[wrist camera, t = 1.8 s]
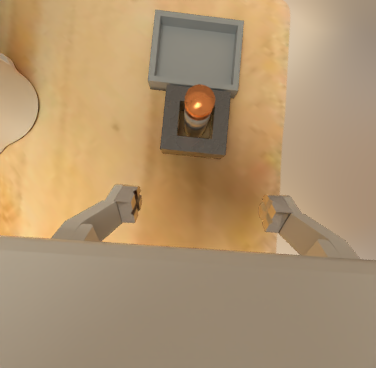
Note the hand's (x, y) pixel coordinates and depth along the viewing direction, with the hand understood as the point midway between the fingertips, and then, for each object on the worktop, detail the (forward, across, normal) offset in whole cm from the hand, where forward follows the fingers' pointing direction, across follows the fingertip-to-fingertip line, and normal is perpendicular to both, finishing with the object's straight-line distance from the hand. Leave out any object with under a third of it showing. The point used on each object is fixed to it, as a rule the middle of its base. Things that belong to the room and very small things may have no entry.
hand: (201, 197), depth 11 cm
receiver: (+24, 0, +3) cm, 24 cm away
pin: (+24, 0, +3) cm, 24 cm away
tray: (+32, +1, -7) cm, 32 cm away
